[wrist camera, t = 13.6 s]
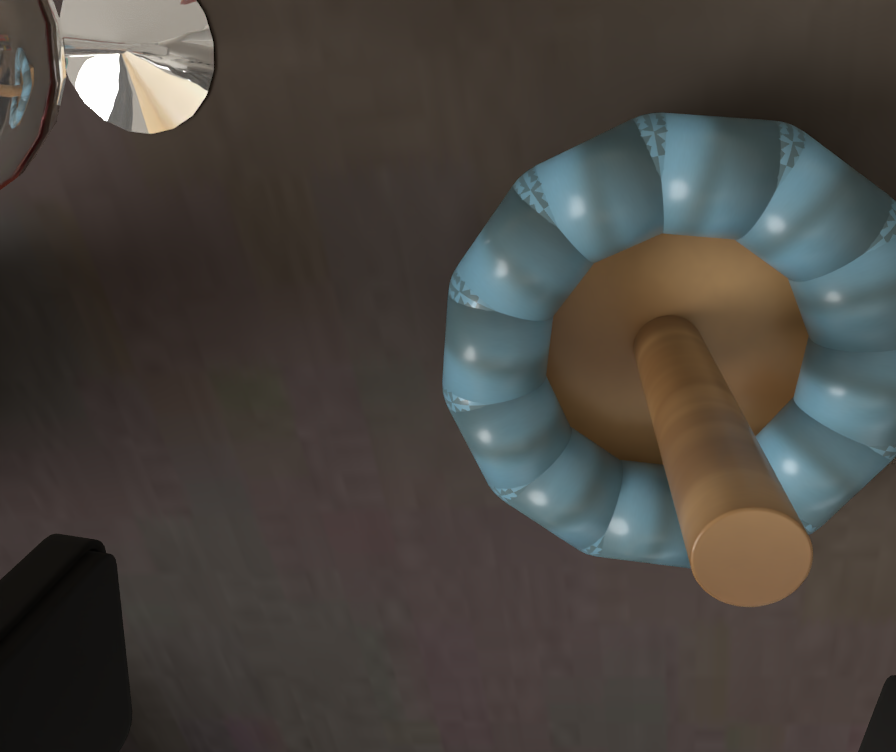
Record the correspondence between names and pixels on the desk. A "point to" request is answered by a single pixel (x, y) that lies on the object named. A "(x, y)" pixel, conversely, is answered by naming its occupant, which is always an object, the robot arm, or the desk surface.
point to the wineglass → (98, 67)
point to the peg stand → (693, 396)
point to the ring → (632, 222)
